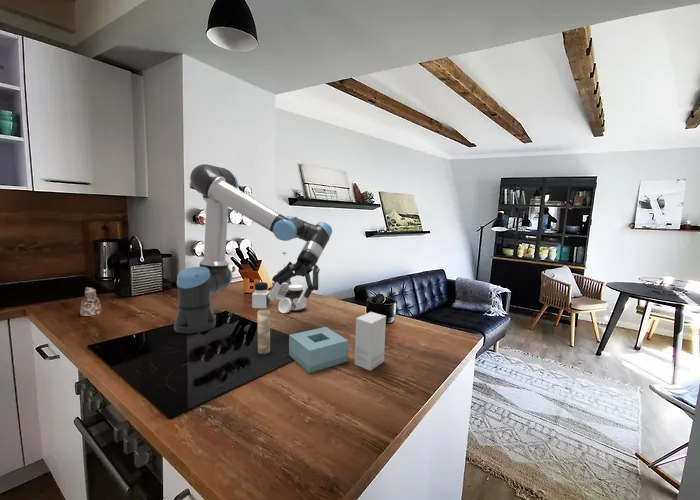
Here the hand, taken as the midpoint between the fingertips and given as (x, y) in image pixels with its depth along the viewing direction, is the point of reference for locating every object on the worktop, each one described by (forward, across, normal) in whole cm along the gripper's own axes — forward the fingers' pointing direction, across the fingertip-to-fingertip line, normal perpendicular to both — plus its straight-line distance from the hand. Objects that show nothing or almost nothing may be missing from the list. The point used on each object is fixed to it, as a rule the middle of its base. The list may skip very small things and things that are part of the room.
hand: (284, 301), depth 114 cm
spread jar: (-10, +21, -32) cm, 39 cm away
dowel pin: (+18, +1, -4) cm, 18 cm away
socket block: (+14, -18, -8) cm, 23 cm away
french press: (-21, +41, -43) cm, 63 cm away
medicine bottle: (-8, +38, -30) cm, 48 cm away
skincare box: (+10, -34, -12) cm, 37 cm away
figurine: (+27, +90, +6) cm, 94 cm away
